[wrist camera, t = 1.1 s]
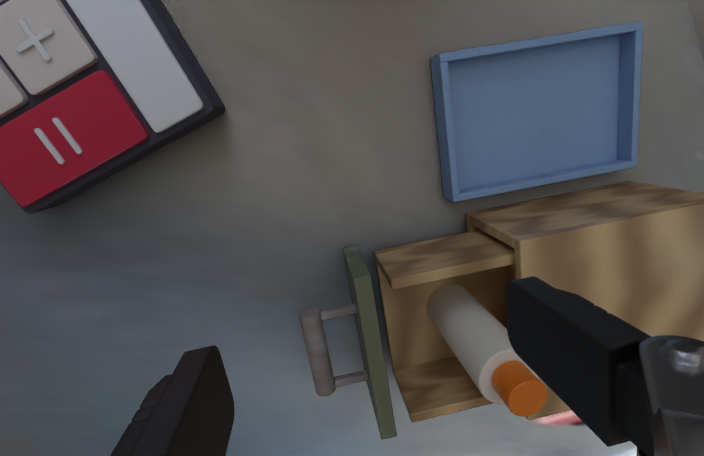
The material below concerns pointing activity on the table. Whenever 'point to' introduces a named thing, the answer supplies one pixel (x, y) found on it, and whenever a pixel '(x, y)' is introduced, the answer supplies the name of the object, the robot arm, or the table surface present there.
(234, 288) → the table surface
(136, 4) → the calculator
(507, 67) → the tray
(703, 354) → the robot arm
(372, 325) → the drawer
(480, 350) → the glue bottle
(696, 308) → the cabinet
